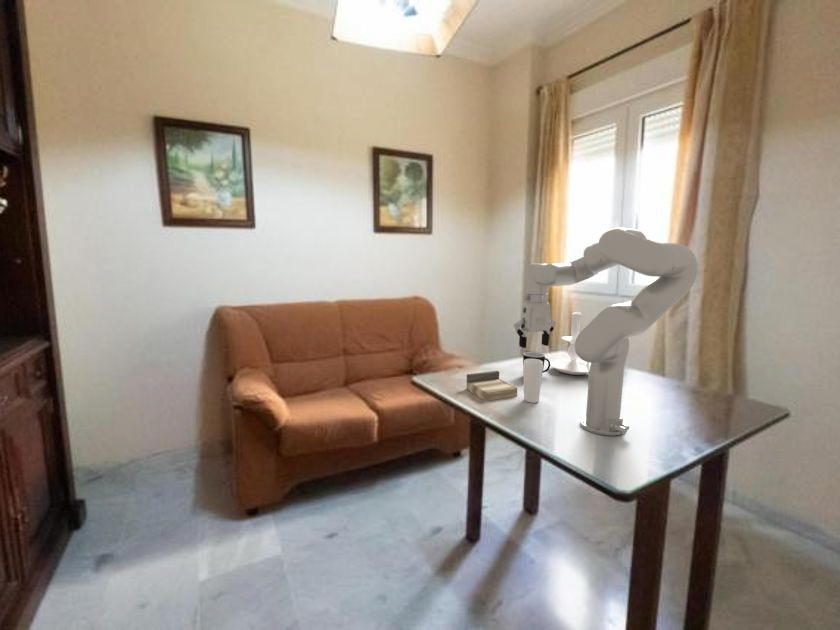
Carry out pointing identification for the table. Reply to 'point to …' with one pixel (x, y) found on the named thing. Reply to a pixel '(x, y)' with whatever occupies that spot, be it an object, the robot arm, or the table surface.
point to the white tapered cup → (532, 379)
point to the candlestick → (572, 352)
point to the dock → (489, 386)
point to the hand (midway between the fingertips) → (533, 346)
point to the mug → (536, 356)
